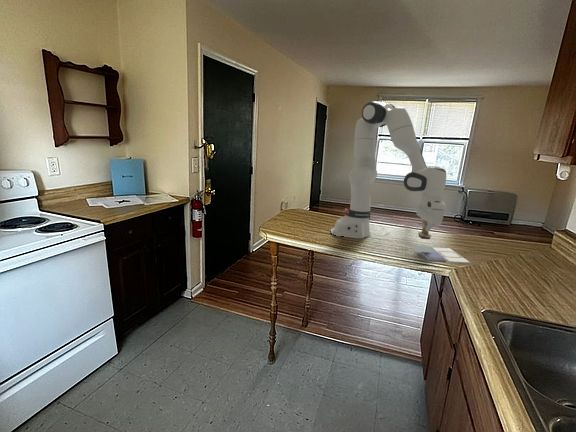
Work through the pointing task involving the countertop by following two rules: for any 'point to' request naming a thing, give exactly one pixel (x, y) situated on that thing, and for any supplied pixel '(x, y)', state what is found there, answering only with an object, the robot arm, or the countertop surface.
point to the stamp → (424, 232)
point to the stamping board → (439, 254)
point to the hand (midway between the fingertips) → (425, 229)
